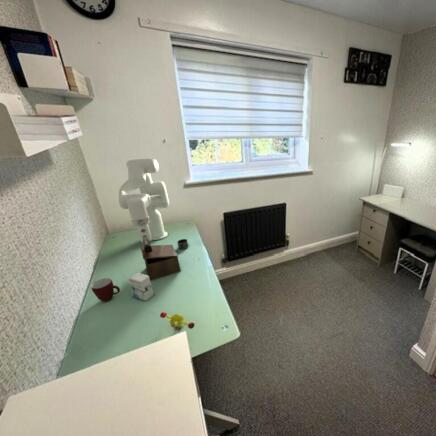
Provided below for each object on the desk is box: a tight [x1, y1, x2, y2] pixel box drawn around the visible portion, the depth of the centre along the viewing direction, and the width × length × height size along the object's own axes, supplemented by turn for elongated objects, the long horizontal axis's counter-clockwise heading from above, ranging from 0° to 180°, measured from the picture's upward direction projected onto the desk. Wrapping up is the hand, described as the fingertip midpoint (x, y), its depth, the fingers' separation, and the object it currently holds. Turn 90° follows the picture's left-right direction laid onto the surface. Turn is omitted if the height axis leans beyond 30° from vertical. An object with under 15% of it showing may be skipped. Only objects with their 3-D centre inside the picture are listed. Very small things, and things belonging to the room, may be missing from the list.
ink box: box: [128, 272, 154, 301], centre depth 118 cm, size 9×5×12 cm, turn 71°
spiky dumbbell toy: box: [159, 311, 195, 330], centre depth 101 cm, size 18×6×7 cm, turn 69°
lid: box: [140, 244, 178, 260], centre depth 135 cm, size 17×15×5 cm
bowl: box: [176, 238, 190, 250], centre depth 164 cm, size 7×7×4 cm
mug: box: [90, 277, 121, 303], centre depth 116 cm, size 11×8×10 cm
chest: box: [143, 256, 181, 282], centre depth 139 cm, size 16×15×10 cm
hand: (148, 249), depth 132 cm, fingers closed on lid, 5 cm apart
